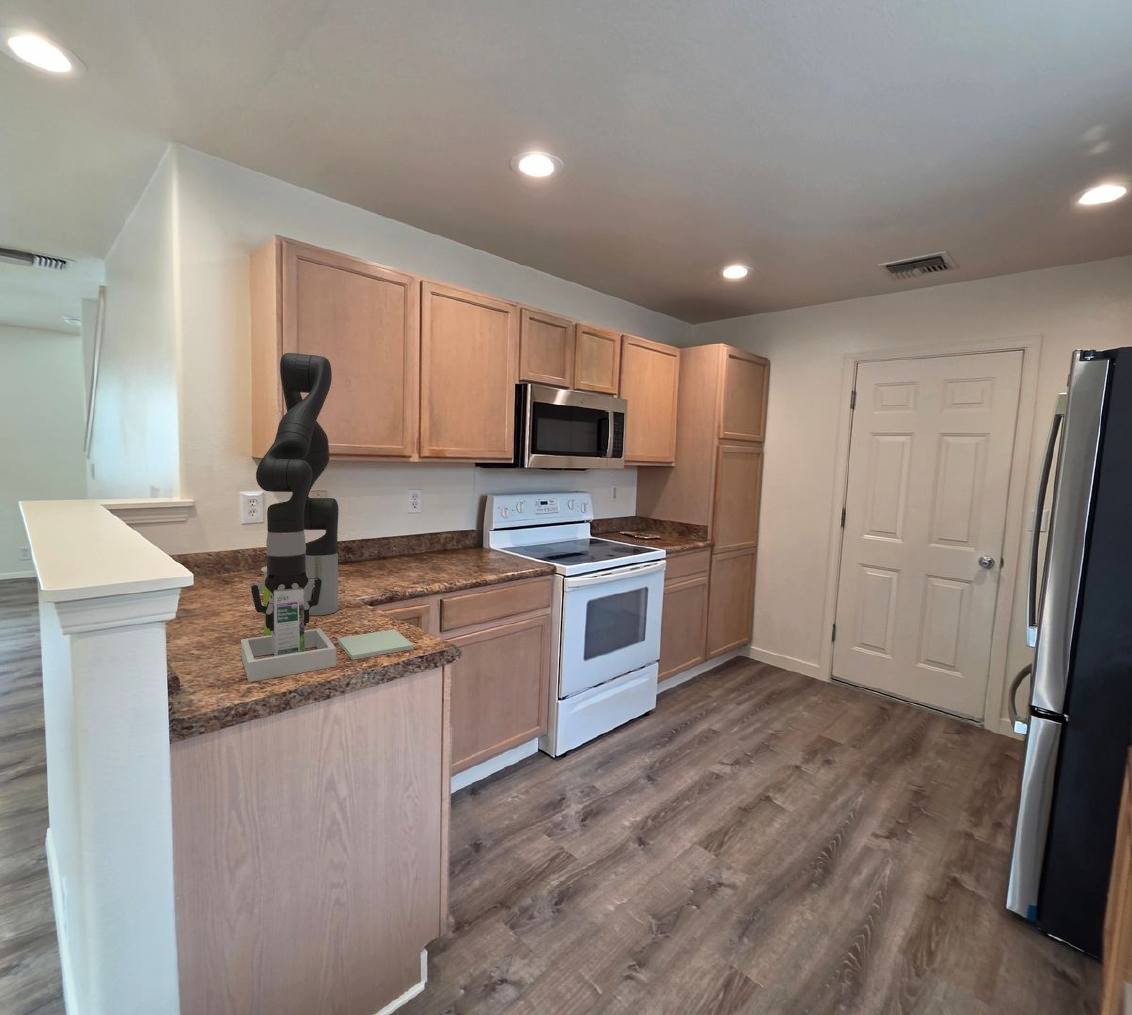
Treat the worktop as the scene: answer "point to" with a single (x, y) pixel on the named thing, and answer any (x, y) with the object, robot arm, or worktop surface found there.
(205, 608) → the worktop surface
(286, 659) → the gray square frame
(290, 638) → the syrup box
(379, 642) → the board
